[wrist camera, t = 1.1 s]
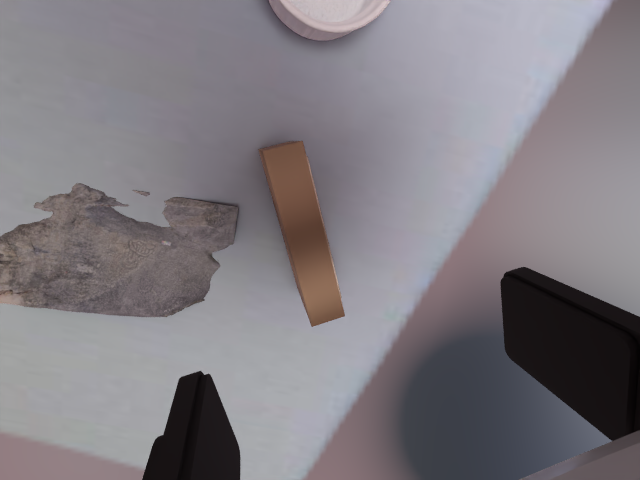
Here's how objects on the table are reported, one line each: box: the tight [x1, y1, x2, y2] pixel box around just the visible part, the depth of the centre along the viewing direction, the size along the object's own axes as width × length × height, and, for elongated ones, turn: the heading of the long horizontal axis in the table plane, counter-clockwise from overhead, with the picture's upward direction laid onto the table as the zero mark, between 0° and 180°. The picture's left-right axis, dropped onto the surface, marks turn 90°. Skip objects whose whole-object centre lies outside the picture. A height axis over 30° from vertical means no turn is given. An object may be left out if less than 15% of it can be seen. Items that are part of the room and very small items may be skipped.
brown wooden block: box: [258, 141, 345, 327], centre depth 25 cm, size 12×3×6 cm, turn 13°
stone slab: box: [0, 183, 238, 317], centre depth 25 cm, size 18×2×10 cm
